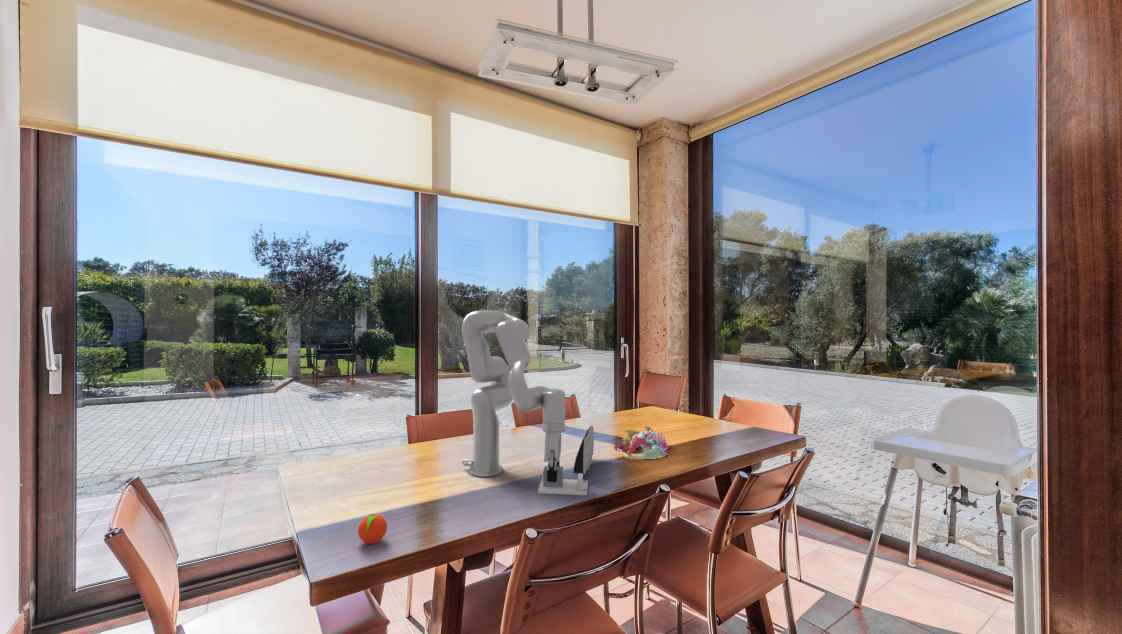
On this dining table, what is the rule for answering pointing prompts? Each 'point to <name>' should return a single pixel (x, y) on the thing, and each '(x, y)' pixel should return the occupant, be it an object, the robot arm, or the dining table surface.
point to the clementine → (372, 528)
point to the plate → (567, 487)
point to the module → (559, 478)
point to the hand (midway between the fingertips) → (553, 476)
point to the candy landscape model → (642, 445)
